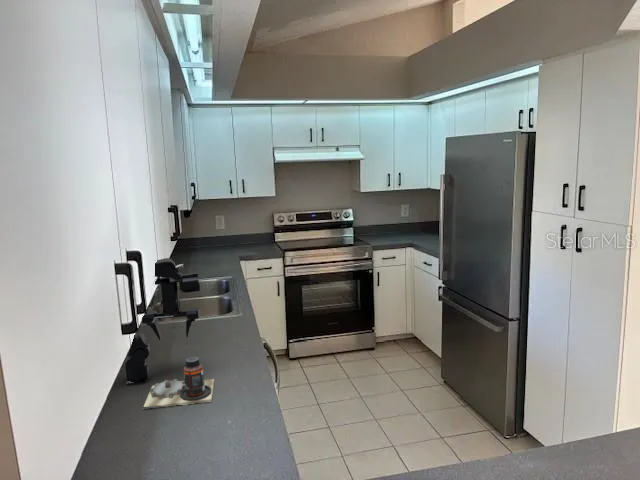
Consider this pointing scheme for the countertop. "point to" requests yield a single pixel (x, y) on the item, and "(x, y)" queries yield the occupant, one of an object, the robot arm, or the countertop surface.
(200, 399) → the gear board
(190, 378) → the supplement bottle
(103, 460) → the countertop surface
